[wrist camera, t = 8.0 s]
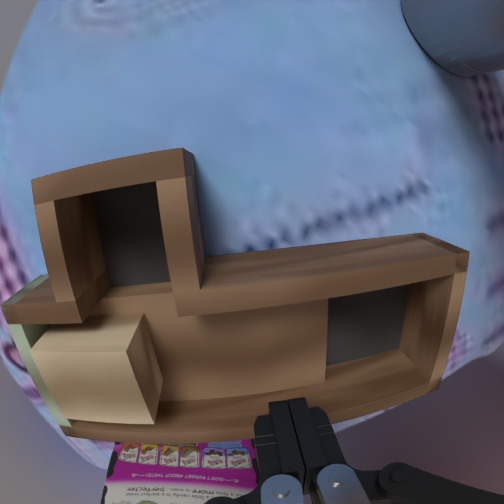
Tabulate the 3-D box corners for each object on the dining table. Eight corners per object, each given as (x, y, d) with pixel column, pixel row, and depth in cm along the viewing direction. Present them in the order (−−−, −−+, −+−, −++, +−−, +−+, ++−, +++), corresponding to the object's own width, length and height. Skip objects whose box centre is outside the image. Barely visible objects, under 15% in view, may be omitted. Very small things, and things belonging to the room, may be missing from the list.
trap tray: (23, 188, 15) (-24, 198, 10) (422, 147, 17) (472, 147, 12) (85, 393, 20) (65, 435, 15) (406, 354, 22) (438, 388, 17)
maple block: (58, 317, 16) (29, 350, 12) (143, 312, 16) (125, 351, 12) (83, 379, 17) (64, 418, 13) (163, 380, 17) (154, 424, 14)
